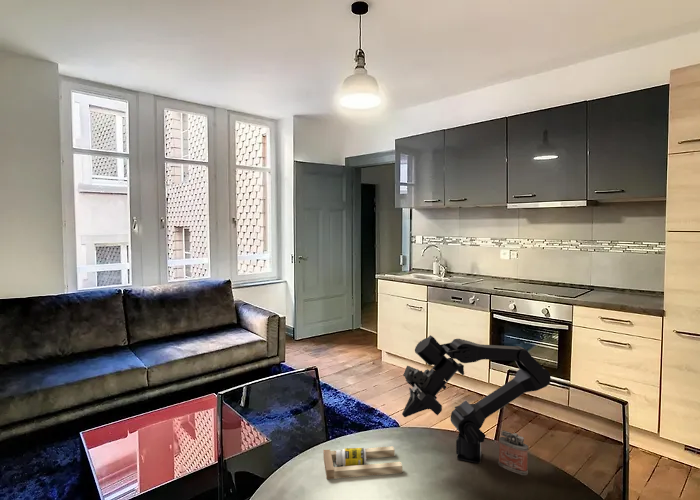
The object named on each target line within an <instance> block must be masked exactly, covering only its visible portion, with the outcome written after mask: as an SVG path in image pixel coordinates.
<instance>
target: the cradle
mask: <svg viewBox="0 0 700 500" xmlns="http://www.w3.org/2000/svg"><path fill="white" fill-rule="evenodd" d="M364 448H365V447H364ZM340 450H341V449H340ZM342 450H343V449H342ZM342 450H341V451H342ZM365 450H366V460H367V459H376V458H377V459H379V458H390V457H395V456H396V455H395V454H396V452H395V451H396V450H395V447H394V446H391V445H390V446H382V447H381V446H379V447H370V448H369V447H368V448H367V447H366V448H365ZM323 462H324V463H323V464H324V470H325V476H326V480H333V479H334V480H335V479H336V480H337V479H344V478H346V479H347V478H358V477H369V476H382V475H391V474H393V475H394V474H402V473H403V464H402V462H401V461H395V462H385V463H384V462H383V463H370V464H369V463H368V464H367V463H366V465H355V466H343V465H342V466H334V462H336V450H331V449H323Z"/></svg>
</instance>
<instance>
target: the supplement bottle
mask: <svg viewBox="0 0 700 500" xmlns="http://www.w3.org/2000/svg"><path fill="white" fill-rule="evenodd" d="M335 451H336V461H335V462H336V467H341V466H342V467H343V466H355V465H367V459H366V450H365V447H352V448H351V447H347V448H346V447H345V448H343V449H342V451H341V449H336V450H335Z"/></svg>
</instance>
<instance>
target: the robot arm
mask: <svg viewBox="0 0 700 500" xmlns="http://www.w3.org/2000/svg"><path fill="white" fill-rule="evenodd" d="M414 352H415V354H416V355H417V356H419V358H420V359H422V361H424V362H425V363H426V364H427V365H428V366H432V368H431V369H425V370H424V371H423V370H419V368H414V367H413V366H410V365H406V368H405V369H404V372H403V375H402V376H403V377H404V378H405V381H406V383H407V384H408V385H410V386H411V387H412V388H411V387H408V390H409V398H408V400H407V403H406V404H405V407H404V409H403V410H402V413H401V415H402V416H403V417H404V418H407V417H409V416H412V415H415V414H417V413H419V412H424V411H426V410H430V411H432V412H433V413H434V414H435V415H436V416H439V415H440V413H441V412H442V411H443V406H442V404H441V403H440V402H439V400H438V397H437V395H438V393H439V392H440V391H441V390H442V389H443V390H446V388H447V385H446V384H447V383H448V382H449V381H450V380H451V379H452V377H453V376H454V375H455V374H457V372H458V373H459V374H461V375H462V376H465V370H464V368H465V365H464V364H470V363H471V364H472V363H476V362H479V361H481V360H483V361H484V360H486V361H487V360H488V361H489V360H491V361H509V362H515V364H516V365H517V367H518V368H519V369H518V370H517V372H516V373H515V375H514V377H513V378H512V379H511V380H510V381H508V382H506V383H504V384H503V385H502V386H500V387H498V388H497V389H496V390H494V391H492V392H491V393H489V394H487V395H486V396H485V397H483V398H482V399H480V400H479V401H477V402H475V403H470V402H468V400H465V401H464V400H463V402H462V403H459V405H457V406H454V409H453V410H452V411H451V413H450V422H451V424H452V425H453V426H454V428H456V431H458V436H457V438H456V442H455V443H456V444H455V445H456V446H455V447H456V448H455V450H456V451H455V454H456V455H457V457H456V459H457V460H460V461H465V462H469V463H475V464H481V461H482V460H481V459H482V453H483V452H482V443H484V441H485V439H486V434H485V433H484V432H483V431H482V430H481V428H482V427H483V424H484V423H485V421H486V420H487V418H488V417H490V416H492V415H493V414H495V413H496V412H498V411H500V410H501V409H503V407H505V406H507V405H508V404H510V403H512V402H514V401H515V400H516V399H518V398H520V397H521V396H522V395H524V394H525V393H531V392H536V391H540V390H541V389H544V388H546V387H547V386H549V385H550V384H551V373H550V371H549V370H548V369H547V368H544V367H543V366H542V365H541V364H540V363H539V362H538V361H537V360H535V358H534V357H533V356H532V354H530V352H529V350H527V349H525V348H523V347H521V346H519V345H513V346H512V345H497V344H496V345H494V344H481V343H477V342H472V341H470V340H465V339H462V338H454V339H453V340H452V341H451V342H447V343H443V344H440V343H439V341H437V339H436V338H435V337H434V336H433V335H429V336H427V337H426V338H424V339H422V340H420V341H419V342H418V343H417V344H416V346H415V349H414ZM445 355H446V356H445ZM456 360H457V361H459V363H458V362H457V361H456Z"/></svg>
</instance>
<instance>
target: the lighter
mask: <svg viewBox="0 0 700 500" xmlns="http://www.w3.org/2000/svg"><path fill="white" fill-rule="evenodd" d="M500 434H501V436H500V437H498V442H499V446H498V447H499V452H498V454H499V456H498V457H499V458H498V466H499V467H500V468H503V469H505V470H507V471H509V472H513V473H515V474H518V475H521V476H527V475H528V473H529V469H528V450H529V445H528V444H526V443H524V442H525V437H524V436H520V435H518V433H516V432H513V433H511V431H510V432H509V431H507V430H502V431H501V433H500Z"/></svg>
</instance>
